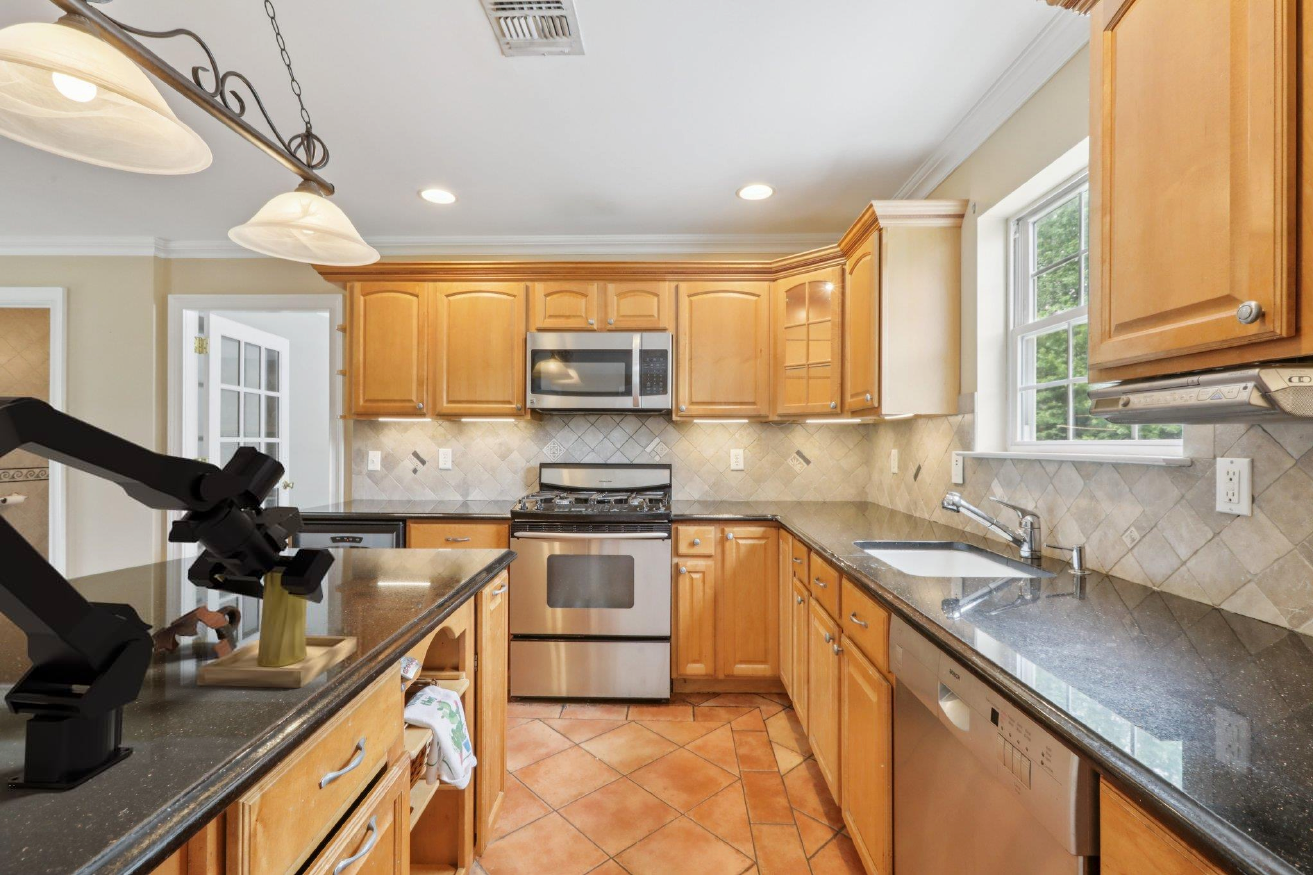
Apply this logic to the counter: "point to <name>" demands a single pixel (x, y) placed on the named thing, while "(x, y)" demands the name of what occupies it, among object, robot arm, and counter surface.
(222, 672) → the maple tray
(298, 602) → the vase
